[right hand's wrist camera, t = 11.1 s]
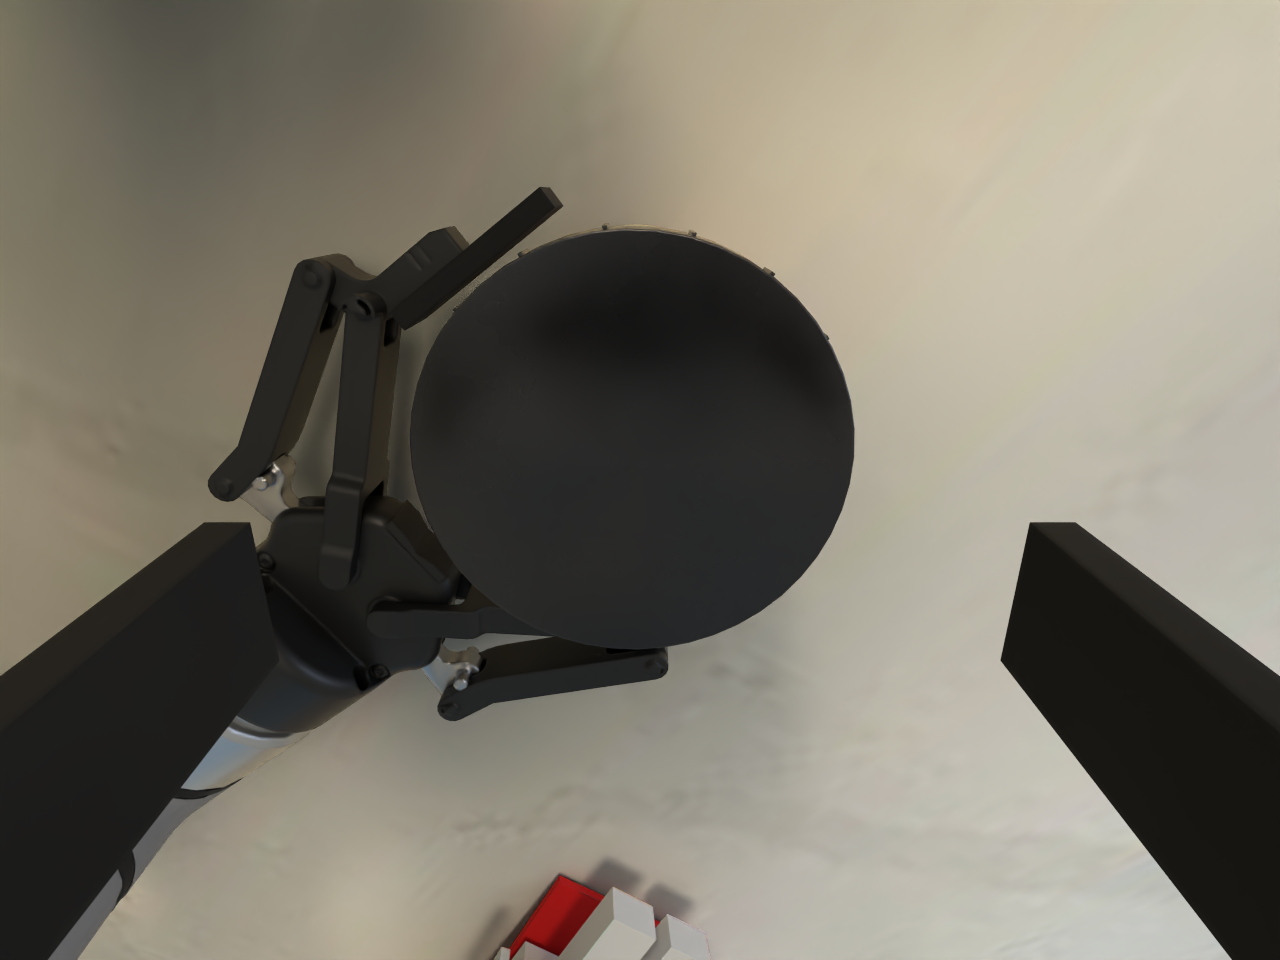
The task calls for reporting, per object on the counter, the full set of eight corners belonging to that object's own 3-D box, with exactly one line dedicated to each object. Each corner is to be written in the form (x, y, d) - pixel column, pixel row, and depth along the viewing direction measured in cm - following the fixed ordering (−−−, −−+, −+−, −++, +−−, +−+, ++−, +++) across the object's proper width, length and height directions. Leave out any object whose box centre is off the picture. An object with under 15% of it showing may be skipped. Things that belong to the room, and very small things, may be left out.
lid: (579, 120, 17) (573, 112, 15) (929, 396, 19) (953, 414, 18) (351, 481, 20) (328, 505, 19) (674, 680, 23) (677, 715, 21)
